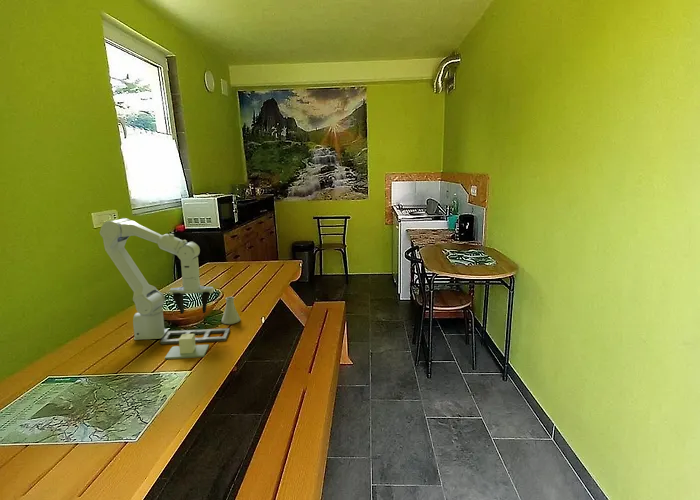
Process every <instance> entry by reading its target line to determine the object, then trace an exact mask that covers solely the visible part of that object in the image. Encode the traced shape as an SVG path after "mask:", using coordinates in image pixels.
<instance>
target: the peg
mask: <svg viewBox="0 0 700 500" xmlns="http://www.w3.org/2000/svg"><path fill="white" fill-rule="evenodd" d="M195 338H196V334H182V335H180V336H179V338H178V339H179V343H178V345H179V348H180V353H193V351H194V349H195V348H196V345H197V344H196V342H195Z"/></svg>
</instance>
